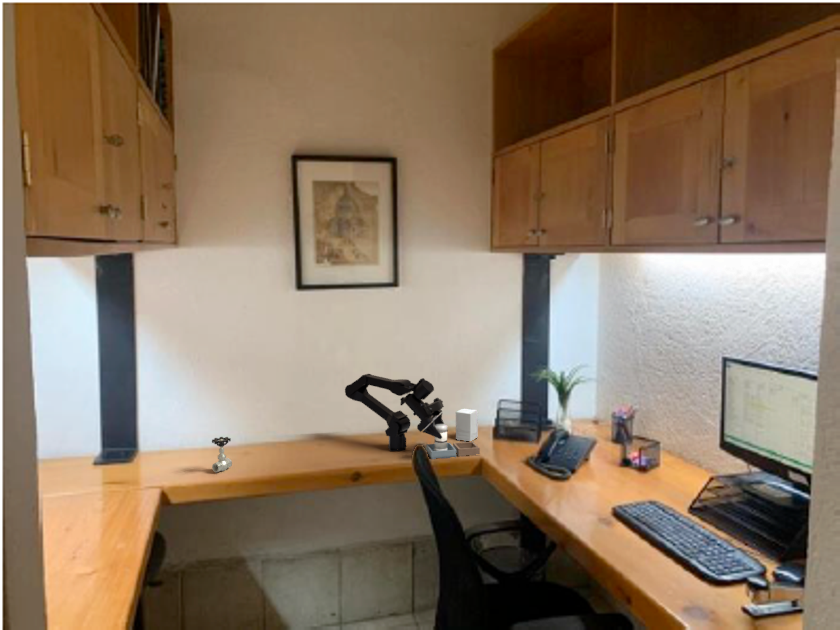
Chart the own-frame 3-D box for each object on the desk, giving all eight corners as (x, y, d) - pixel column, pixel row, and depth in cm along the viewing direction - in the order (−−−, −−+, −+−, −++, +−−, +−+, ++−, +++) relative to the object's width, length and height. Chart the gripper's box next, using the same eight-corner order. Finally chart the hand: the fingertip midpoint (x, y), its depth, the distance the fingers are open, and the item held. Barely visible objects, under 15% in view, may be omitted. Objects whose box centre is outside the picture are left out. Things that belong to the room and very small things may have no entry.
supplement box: (478, 438, 278) (478, 410, 276) (470, 442, 271) (470, 413, 270) (463, 435, 282) (463, 407, 280) (455, 440, 275) (455, 411, 274)
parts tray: (431, 459, 250) (431, 451, 249) (426, 451, 259) (426, 444, 259) (456, 457, 252) (456, 450, 252) (449, 449, 262) (449, 442, 261)
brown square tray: (458, 456, 253) (458, 449, 252) (453, 450, 261) (453, 443, 261) (479, 455, 255) (479, 447, 254) (473, 448, 263) (473, 441, 263)
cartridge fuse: (436, 454, 253) (436, 427, 251) (433, 450, 258) (433, 424, 257) (448, 454, 254) (448, 426, 253) (445, 450, 259) (445, 423, 258)
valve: (209, 472, 236) (208, 440, 235) (222, 466, 242) (221, 435, 241) (222, 474, 233) (221, 442, 232) (235, 469, 239) (234, 438, 237)
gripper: (425, 398, 245) (453, 428, 243) (437, 388, 263) (463, 416, 261) (405, 416, 248) (433, 446, 246) (418, 405, 266) (444, 433, 264)
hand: (444, 435), depth 254 cm, fingers open, 9 cm apart
